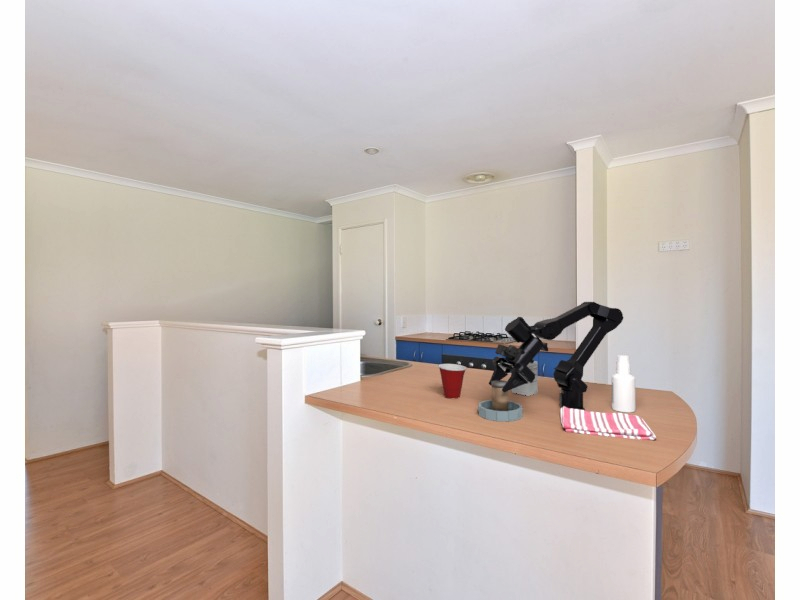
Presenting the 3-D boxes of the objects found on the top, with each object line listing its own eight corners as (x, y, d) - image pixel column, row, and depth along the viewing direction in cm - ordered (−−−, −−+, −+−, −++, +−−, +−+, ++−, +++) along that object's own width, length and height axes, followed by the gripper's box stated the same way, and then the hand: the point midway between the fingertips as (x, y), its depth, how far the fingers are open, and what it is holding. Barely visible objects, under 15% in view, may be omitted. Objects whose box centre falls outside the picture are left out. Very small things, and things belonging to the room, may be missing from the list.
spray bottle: (631, 407, 132) (631, 354, 132) (638, 413, 126) (637, 357, 125) (609, 406, 134) (609, 353, 134) (614, 412, 128) (614, 357, 127)
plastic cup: (466, 401, 144) (466, 368, 143) (437, 400, 146) (436, 367, 146) (467, 393, 154) (467, 363, 154) (440, 392, 156) (439, 362, 156)
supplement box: (511, 393, 154) (511, 361, 153) (521, 389, 159) (521, 358, 158) (528, 396, 148) (528, 363, 148) (538, 393, 153) (538, 360, 153)
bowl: (517, 408, 133) (517, 400, 133) (525, 421, 120) (525, 412, 120) (477, 408, 135) (477, 399, 135) (480, 420, 121) (480, 411, 121)
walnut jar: (511, 411, 128) (510, 381, 128) (505, 416, 124) (505, 384, 123) (495, 409, 131) (494, 379, 131) (489, 413, 126) (488, 382, 126)
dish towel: (559, 415, 127) (559, 405, 126) (642, 422, 119) (642, 411, 119) (562, 434, 111) (562, 421, 110) (658, 443, 103) (658, 430, 103)
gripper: (497, 332, 137) (468, 366, 135) (525, 338, 119) (492, 377, 116) (518, 354, 139) (489, 387, 136) (549, 363, 120) (517, 401, 118)
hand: (496, 387), depth 127 cm, fingers open, 9 cm apart
